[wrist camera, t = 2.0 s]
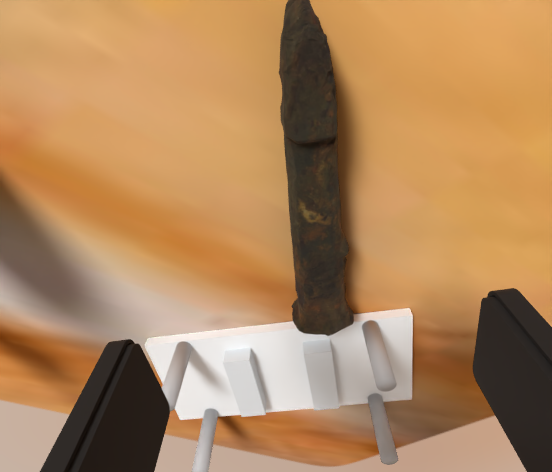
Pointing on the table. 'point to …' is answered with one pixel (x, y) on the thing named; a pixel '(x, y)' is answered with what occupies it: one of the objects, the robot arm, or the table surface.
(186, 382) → the peg rack
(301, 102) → the dark brown rough rod
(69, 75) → the table surface
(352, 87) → the table surface
